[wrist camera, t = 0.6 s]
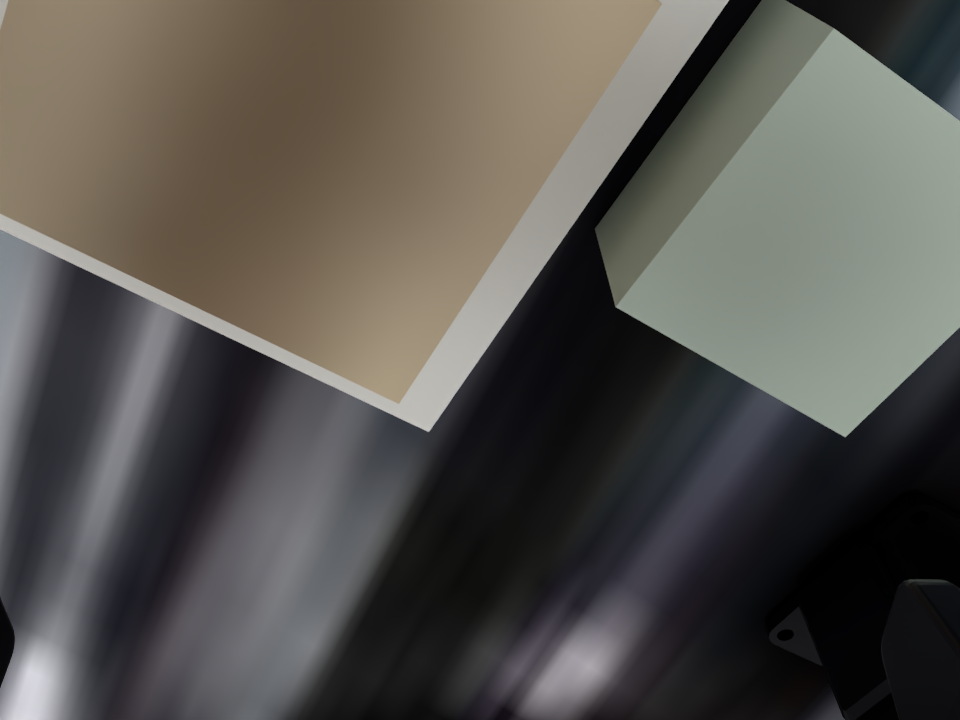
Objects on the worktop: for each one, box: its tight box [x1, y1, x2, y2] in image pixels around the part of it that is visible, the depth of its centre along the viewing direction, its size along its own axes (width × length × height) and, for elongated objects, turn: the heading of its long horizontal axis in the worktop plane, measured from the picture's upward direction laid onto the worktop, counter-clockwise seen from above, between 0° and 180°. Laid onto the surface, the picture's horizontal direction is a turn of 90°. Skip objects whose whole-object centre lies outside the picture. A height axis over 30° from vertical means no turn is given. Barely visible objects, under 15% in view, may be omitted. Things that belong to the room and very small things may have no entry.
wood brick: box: [0, 0, 662, 404], centre depth 15 cm, size 8×8×4 cm
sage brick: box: [595, 0, 960, 437], centre depth 18 cm, size 6×6×4 cm
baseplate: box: [0, 0, 729, 432], centre depth 17 cm, size 12×14×2 cm
